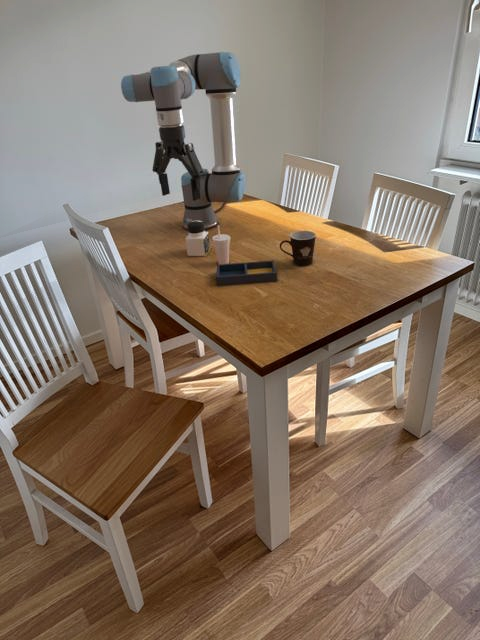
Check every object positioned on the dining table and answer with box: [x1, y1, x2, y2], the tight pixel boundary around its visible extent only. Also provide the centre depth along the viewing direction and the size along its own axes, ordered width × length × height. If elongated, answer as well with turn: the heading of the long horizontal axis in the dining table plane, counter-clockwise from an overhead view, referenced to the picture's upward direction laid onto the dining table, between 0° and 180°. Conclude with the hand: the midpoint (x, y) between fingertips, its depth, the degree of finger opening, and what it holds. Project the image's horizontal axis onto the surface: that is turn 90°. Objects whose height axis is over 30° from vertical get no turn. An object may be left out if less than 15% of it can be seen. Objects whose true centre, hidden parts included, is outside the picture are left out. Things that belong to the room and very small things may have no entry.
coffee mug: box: [279, 230, 317, 267], centre depth 156 cm, size 12×9×10 cm
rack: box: [215, 260, 278, 287], centre depth 151 cm, size 10×19×3 cm, turn 91°
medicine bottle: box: [184, 221, 211, 257], centre depth 169 cm, size 7×7×12 cm
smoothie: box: [211, 224, 231, 265], centre depth 159 cm, size 6×6×14 cm
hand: (181, 197), depth 145 cm, fingers open, 13 cm apart
